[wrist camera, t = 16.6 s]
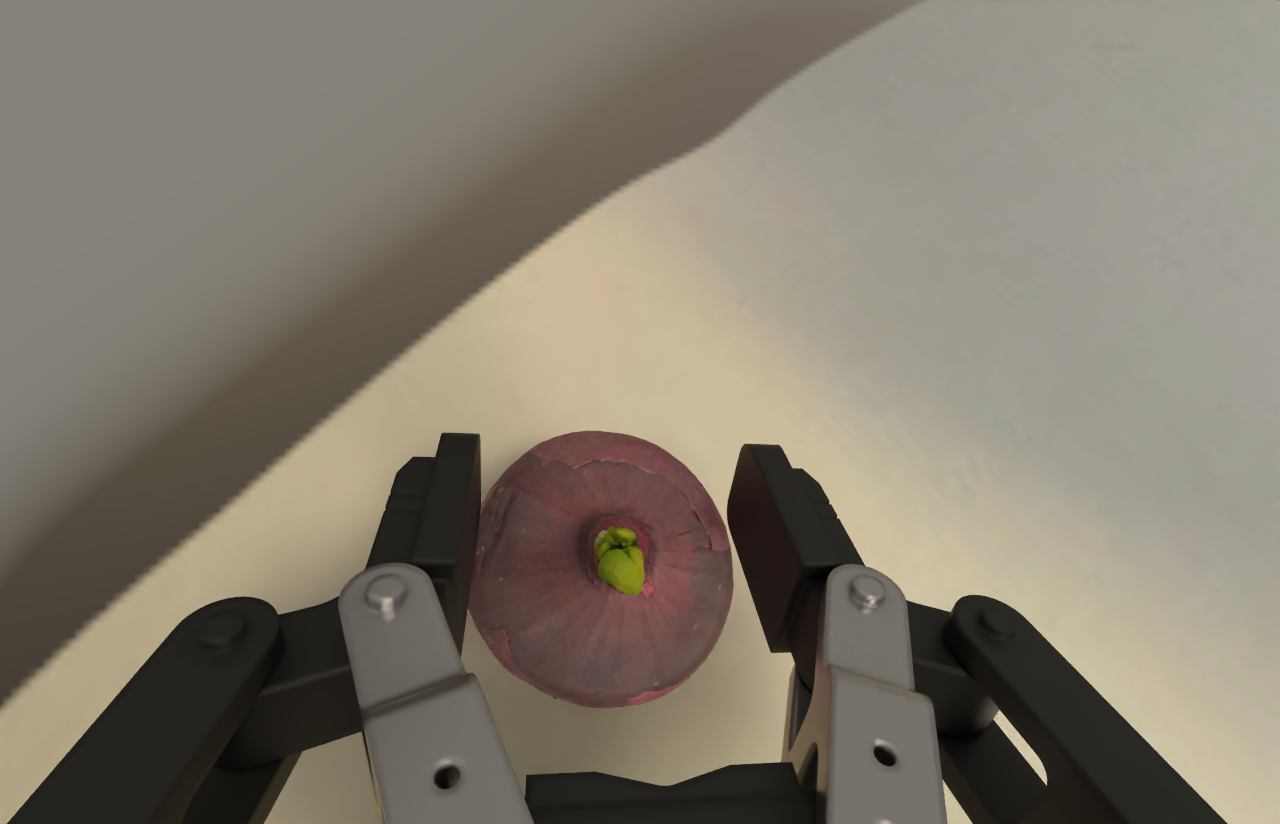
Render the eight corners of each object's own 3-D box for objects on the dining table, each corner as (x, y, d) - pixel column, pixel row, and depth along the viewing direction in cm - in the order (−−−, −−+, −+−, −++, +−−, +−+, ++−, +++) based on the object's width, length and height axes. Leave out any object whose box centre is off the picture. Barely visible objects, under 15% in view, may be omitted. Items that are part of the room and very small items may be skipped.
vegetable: (510, 434, 19) (500, 305, 10) (707, 486, 20) (882, 413, 10) (448, 647, 17) (362, 748, 8) (665, 694, 18) (826, 839, 9)
